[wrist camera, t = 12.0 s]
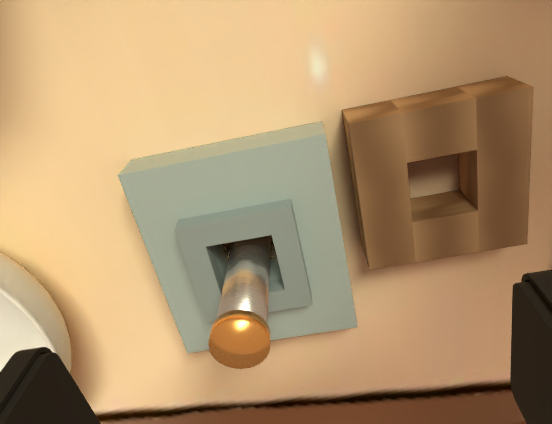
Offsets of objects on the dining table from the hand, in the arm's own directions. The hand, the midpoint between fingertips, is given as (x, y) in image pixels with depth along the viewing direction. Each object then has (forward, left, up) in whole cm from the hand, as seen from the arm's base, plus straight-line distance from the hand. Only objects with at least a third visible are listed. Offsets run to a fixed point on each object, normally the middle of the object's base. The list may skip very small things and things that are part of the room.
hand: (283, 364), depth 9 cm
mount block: (-9, +7, -24) cm, 27 cm away
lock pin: (+4, +10, -24) cm, 27 cm away
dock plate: (+5, +10, -24) cm, 27 cm away
